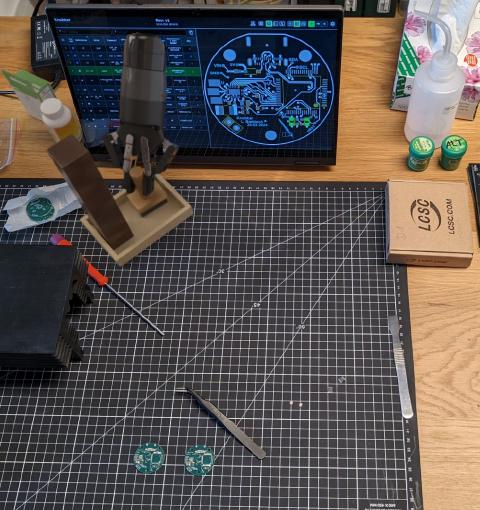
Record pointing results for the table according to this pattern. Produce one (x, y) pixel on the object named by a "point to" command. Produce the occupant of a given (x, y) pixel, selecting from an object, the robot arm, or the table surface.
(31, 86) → the ink box
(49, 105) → the supplement bottle
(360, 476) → the table surface
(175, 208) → the tray
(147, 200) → the wooden stamp
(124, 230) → the dark brown wooden bar
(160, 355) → the table surface
